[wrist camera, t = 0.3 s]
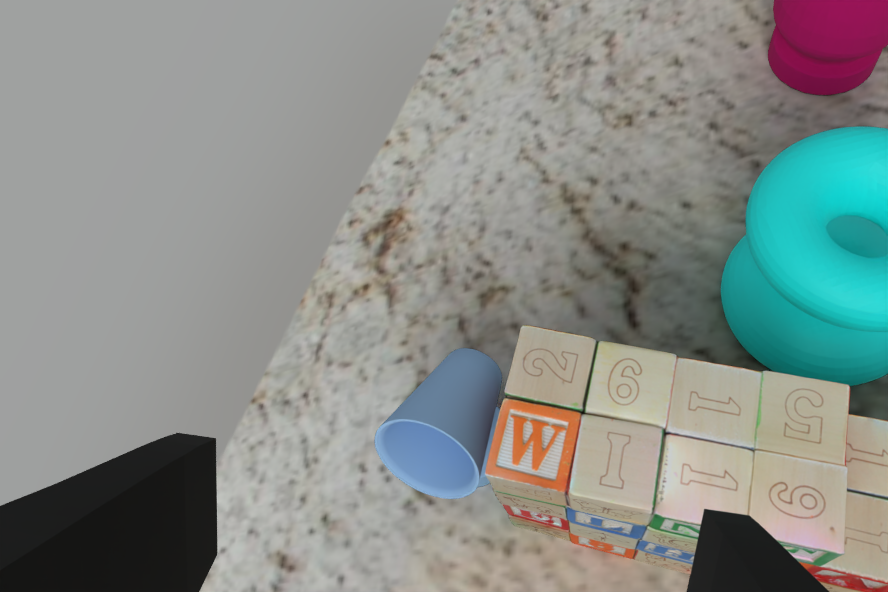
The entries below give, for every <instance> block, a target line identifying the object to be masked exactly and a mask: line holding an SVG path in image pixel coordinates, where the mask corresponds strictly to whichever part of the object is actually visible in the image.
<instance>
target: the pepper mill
mask: <svg viewBox="0 0 888 592" xmlns="http://www.w3.org/2000/svg"><path fill="white" fill-rule="evenodd" d="M773 12H774V19H775V22H776V27H775V29H774V32H773V35H772V39H771V42H770V46H769V50H768V60H769V63H770V66H771V68H772V70H773V72H774V73H775V74H776V76H777V77H778V78H779V79H780V80H781V81H783V82H784V83H785V84H787V85H788V86H790V87H791V88H794V89H796V90H799V91H801V92H804V93H809V94H815V95H832V94H837V93H843V92H846V91H849V90H851V89H853V88H855V87H857V86H859V85H860V84H861V83H863V82H864V81H865V80H866V79H867V78H868V77H869V76H870V74H871V73H872V71H873V69H874V67H875V65H876V62H877V60H878V58H879V56H880V54H881V52H882V49H883V48H884V47H886V46H887V45H888V0H774V6H773Z"/></svg>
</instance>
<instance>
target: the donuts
mask: <svg viewBox="0 0 888 592" xmlns="http://www.w3.org/2000/svg"><path fill="white" fill-rule="evenodd" d="M721 300H722V305H723V309H724V313H725V316H726V319H727V322H728V324H729V326H730V328H731V330H732V332H733V333H734V335H735V337H736V338H737V340H738V341H739V342H740V343H741V345H742V346H743V347H744V348H745V349H746V350H747V351H748V352H749V353H750V354H751V355H752V356H753V357H754V358H755V359H756V360H758V361H759V362H760V363H762V364H763V365H764V366H766V367H767V368H769V369H771V370H772V371H774V372H778V373H784V374H790V375H795V376H800V377H805V378H813V379H819V380H824V381H830V382H836V383H842V384H847V385H849V386H853V385H858V384H863V383H867V382H870V381H873V380H876V379H878V378H881V377H883V376H885V375H887V374H888V129H887V128H879V127H864V126H858V127H843V128H836V129H831V130H827V131H823V132H820V133H817V134H814V135H811V136H809V137H806V138H804V139H802V140H800V141H798V142H796V143H794V144H792V145H791V146H789V147H788V148H786V149H785V150H783V151H782V152H781V153H780V154H778V155H777V156H776V157H775V158H774V159H773V160H772V161H771V162H770V163H769V164H768V165H767V166H766V168H765V169H764V170H763V171H762V173H761V174H760V176H759V177H758V179H757V180H756V182H755V184H754V186H753V189H752V191H751V194H750V197H749V200H748V204H747V209H746V235H745V236H744V237H743V238H742V239H741V240H740V241H739V242H738V243H737V245H736V246H735V247H734V249H733V250H732V252H731V254H730V256H729V258H728V260H727V262H726V265H725V268H724V271H723V275H722V281H721Z"/></svg>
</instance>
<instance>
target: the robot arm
mask: <svg viewBox="0 0 888 592" xmlns="http://www.w3.org/2000/svg"><path fill="white" fill-rule="evenodd" d="M216 556H217V490H216V438H209V437H202V436H196V435H189V434H182V433H176V434H173V435H170V436H167V437H164V438H161V439H158V440H156V441H153V442H151V443H148V444H146V445H144V446H141V447H139V448H137V449H134V450H132V451H130V452H127V453H125V454H123V455H121V456H118V457H116V458H114V459H111V460H109V461H107V462H105V463H102V464H100V465H98V466H96V467H93V468H91V469H89V470H86V471H84V472H82V473H79V474H77V475H75V476H73V477H70V478H68V479H66V480H63V481H61V482H59V483H57V484H54V485H52V486H49V487H47V488H44V489H42V490H39V491H37V492H34V493H32V494H29V495H27V496H24V497H22V498H19V499H17V500H14V501H11V502H9V503H6V504H5V505H2V506H0V592H199V591H200V589H201V587H202V585H203V583H204V581H205V578H206V576H207V574H208V572H209V570H210V568H211V566H212V564H213V562H214V560H215V558H216ZM687 592H829V591H828V590H827V589H826V588H825V587H824V586H823V585H822V584H821V583H820V582H819V581H818V580H817V579H816V578H815V577H814V576H813V575H812V574H811V573H810V572H808V571H807V570H806V569H805V568H804V567H803V566H802V565H801V564H800V563H799V562H798V561H797V560H796V559H795V558H794V557H793V556H792V555H791V554H790V553H789V552H788V551H787V550H786V549H785V548H784V547H783V546H782V545H781V544H780V543H779V542H778V541H777V540H776V539H775V538H774V537H773V536H772V535H770V534H769V533H768V532H767V531H766V530H765V529H764V528H763V527H762V526H761V525H760V524H759V523H758V522H756V521H755V520H754V519H753V518H752V517H751V516H749V515H744V514H737V513H730V512H723V511H716V510H709V509H704V512H703V517H702V522H701V527H700V531H699V536H698V541H697V546H696V550H695V555H694V560H693V565H692V569H691V574H690V579H689V584H688V589H687Z"/></svg>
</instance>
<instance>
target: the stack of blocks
mask: <svg viewBox="0 0 888 592" xmlns="http://www.w3.org/2000/svg"><path fill="white" fill-rule="evenodd" d="M504 393H505V395H506V398H505V399H504V400H503V402H502V405H501V408H500V412H499V416H498V420H497V424H496V428H495V432H494V436H493V440H492V444H491V448H490V452H489V456H488V460H487V464H486V470H485V475H486V477H487V478H488V480H489V482H490V484H491V485H492V487H493V491H494V493H495V495H496V496H497V498H498V500H499V501H500V503H501V504H503V506H504V508H505V510H506V511H507V513H508V514H509V515H508V516H509V519H510V521H511V522H512V523H513V525H514V526H517V527H520V528H524V529H528V530H532V531H536V532H539V533H543V534H547V535H550V536H554V537H558V538H562V539H565V540H569V541H571V542H572V543H574V544H578V545H581V546H585V547H589V548H593V549H597V550H600V551H604V552H608V553H612V554H616V555H619V556H623V557H627V558H631V559H635V560H638V561H642V562H645V563H648V564H652V565H656V566H660V567H663V568H667V569H671V570H675V571H679V572H683V573H687V574H691V569H692V565H693V560H694V555H695V550H696V546H697V541H698V536H699V531H700V527H701V522H702V517H703V512H704V509H709V510H716V511H723V512H730V513H737V514H744V515H749V516H751V517H752V518H753V519H754V520H755V521H756V522H758V523H759V524H760V525H761V526H762V527H763V528H764V529H765V530H766V531H767V532H768V533H769V534H770V535H772V536H773V537H774V538H775V539H776V540H777V541H778V542H779V543H780V544H781V545H782V546H783V547H784V548H785V549H786V550H787V551H788V552H789V553H790V554H791V555H792V556H793V557H794V558H795V559H796V560H797V561H798V562H799V563H800V564H801V565H802V566H803V567H804V568H805V569H806V570H807V571H808V572H810V573H811V574H812V575H813V576H814V577H815V578H816V579H817V580H818V581H819V582H820V583H821V584H822V585H823V586H824V587H825V588H826V589H827V590H828V591H829V592H888V421H887V420H881V419H876V418H869V417H863V416H857V415H852V414H849V402H850V386H849V385H847V384H842V383H836V382H830V381H824V380H819V379H813V378H805V377H800V376H795V375H790V374H784V373H778V372H772V371H761V372H760V371H755V370H750V369H746V368H741V367H735V366H729V365H723V364H716V363H711V362H706V361H700V360H695V359H688V358H679V357H678V356H677V355H675V354H672V353H667V352H662V351H657V350H651V349H646V348H640V347H635V346H629V345H624V344H618V343H613V342H607V341H599V342H598V341H596V340H595V339H593V338H591V337H586V336H581V335H576V334H571V333H566V332H561V331H556V330H550V329H545V328H540V327H535V326H529V325H523V326H522V327H521V330H520V334H519V338H518V342H517V346H516V349H515V353H514V357H513V361H512V364H511V368H510V372H509V376H508V379H507V383H506V387H505V392H504Z"/></svg>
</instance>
